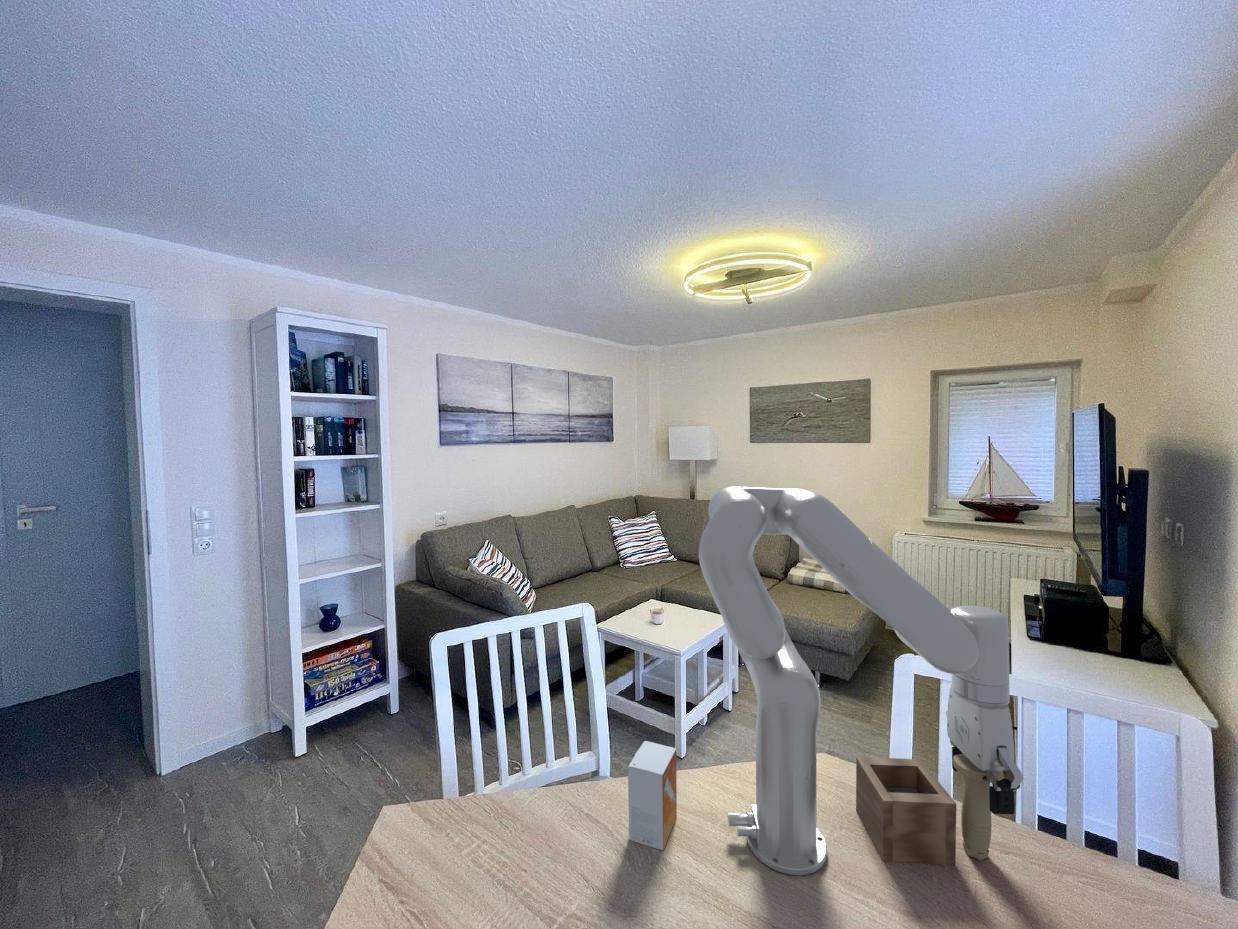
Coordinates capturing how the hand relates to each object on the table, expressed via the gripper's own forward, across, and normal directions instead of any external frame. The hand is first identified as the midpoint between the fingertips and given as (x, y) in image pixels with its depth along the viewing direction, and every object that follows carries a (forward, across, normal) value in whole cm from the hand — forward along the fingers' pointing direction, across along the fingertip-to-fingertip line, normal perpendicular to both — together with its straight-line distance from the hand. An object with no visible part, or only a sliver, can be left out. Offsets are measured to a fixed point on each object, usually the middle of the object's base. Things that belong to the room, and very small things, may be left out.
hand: (981, 790), depth 81 cm
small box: (+9, -2, -53) cm, 54 cm away
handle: (+11, 0, -1) cm, 11 cm away
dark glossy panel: (+5, -3, -11) cm, 12 cm away
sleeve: (+10, -3, -11) cm, 15 cm away
